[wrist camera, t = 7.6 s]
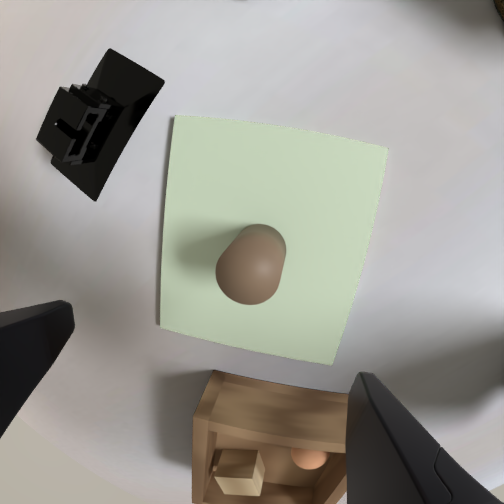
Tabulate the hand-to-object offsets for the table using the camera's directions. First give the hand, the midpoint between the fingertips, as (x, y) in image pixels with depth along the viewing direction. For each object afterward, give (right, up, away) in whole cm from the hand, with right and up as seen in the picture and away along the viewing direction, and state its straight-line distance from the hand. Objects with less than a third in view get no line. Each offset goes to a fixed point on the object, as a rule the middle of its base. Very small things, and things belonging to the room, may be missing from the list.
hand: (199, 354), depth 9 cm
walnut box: (+4, -13, +15) cm, 21 cm away
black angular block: (-9, +11, +10) cm, 18 cm away
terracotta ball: (+6, -12, +13) cm, 19 cm away
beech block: (+1, -16, +15) cm, 22 cm away
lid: (+2, +3, +11) cm, 12 cm away
